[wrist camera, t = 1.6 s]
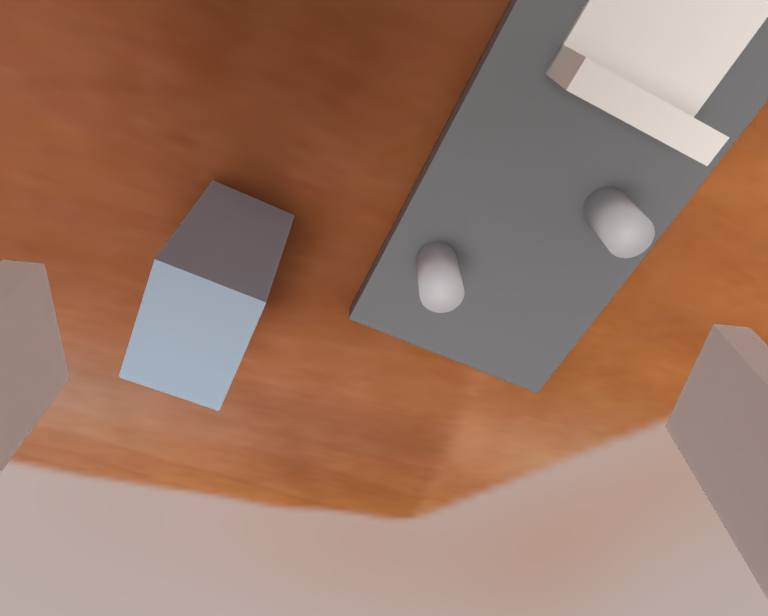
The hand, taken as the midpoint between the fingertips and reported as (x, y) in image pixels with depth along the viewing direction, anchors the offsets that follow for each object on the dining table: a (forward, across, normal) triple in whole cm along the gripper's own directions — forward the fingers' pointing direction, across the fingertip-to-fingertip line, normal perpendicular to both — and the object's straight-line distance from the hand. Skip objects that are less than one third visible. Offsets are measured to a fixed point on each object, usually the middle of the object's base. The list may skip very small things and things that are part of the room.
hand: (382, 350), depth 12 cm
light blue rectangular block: (+23, -8, -9) cm, 26 cm away
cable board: (+23, +11, 0) cm, 25 cm away
